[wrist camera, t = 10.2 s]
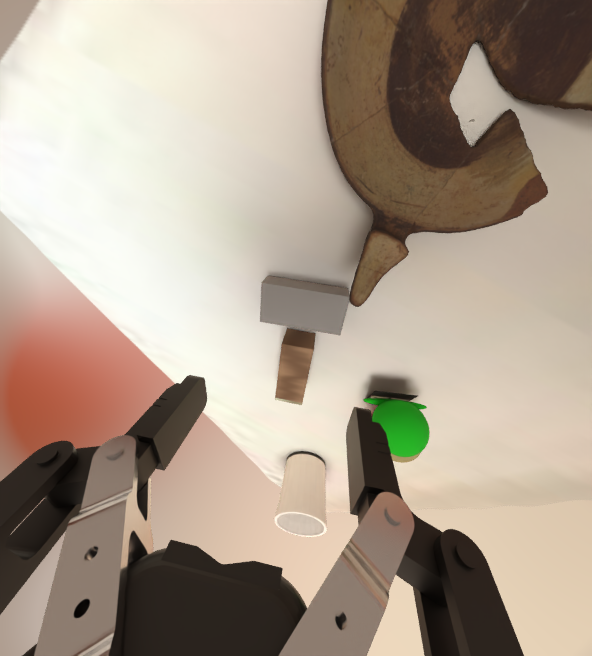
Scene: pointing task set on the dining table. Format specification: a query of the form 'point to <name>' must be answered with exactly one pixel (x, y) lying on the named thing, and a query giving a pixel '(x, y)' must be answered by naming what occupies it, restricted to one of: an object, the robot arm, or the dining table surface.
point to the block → (294, 365)
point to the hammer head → (303, 304)
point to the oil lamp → (442, 111)
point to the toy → (401, 424)
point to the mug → (303, 496)
